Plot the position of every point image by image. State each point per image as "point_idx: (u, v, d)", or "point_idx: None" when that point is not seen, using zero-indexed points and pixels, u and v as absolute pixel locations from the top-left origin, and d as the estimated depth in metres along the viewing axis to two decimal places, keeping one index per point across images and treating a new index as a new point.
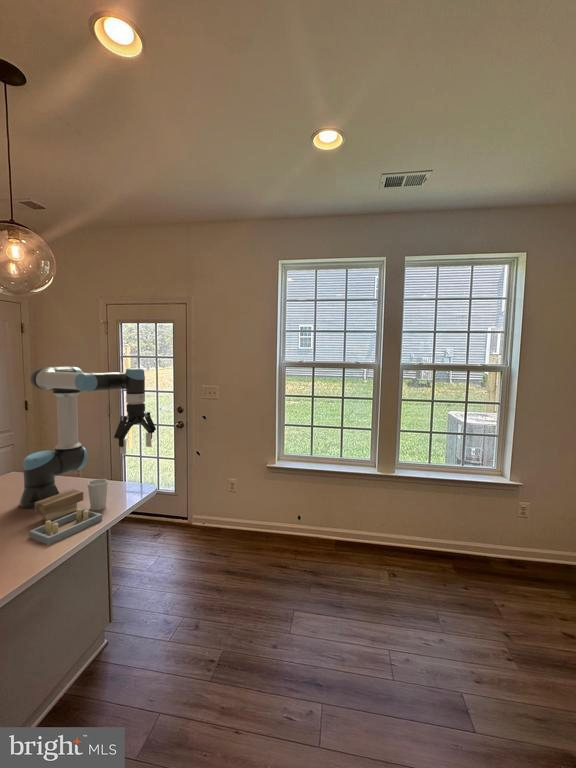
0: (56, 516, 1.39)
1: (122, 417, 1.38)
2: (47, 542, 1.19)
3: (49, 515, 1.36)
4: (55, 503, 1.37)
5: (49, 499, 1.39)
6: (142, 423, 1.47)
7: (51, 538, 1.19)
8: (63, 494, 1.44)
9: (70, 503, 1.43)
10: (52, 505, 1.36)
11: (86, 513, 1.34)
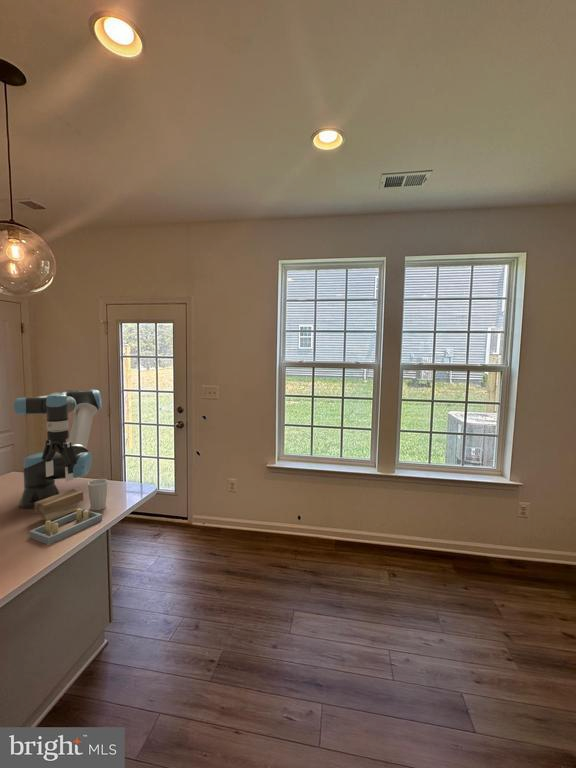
0: (56, 516, 1.39)
1: None
2: (47, 542, 1.19)
3: (49, 515, 1.36)
4: (55, 503, 1.37)
5: (49, 499, 1.39)
6: None
7: (51, 538, 1.19)
8: (63, 494, 1.44)
9: (70, 503, 1.43)
10: (52, 505, 1.36)
11: (86, 513, 1.34)
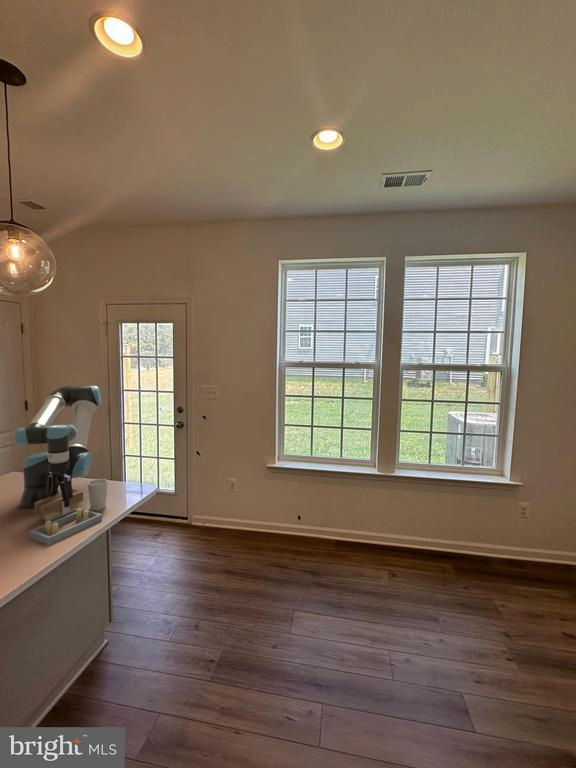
0: (56, 516, 1.39)
1: None
2: (47, 542, 1.19)
3: (49, 515, 1.36)
4: (55, 503, 1.37)
5: (49, 499, 1.39)
6: None
7: (51, 538, 1.19)
8: None
9: (70, 503, 1.43)
10: (52, 505, 1.36)
11: (86, 513, 1.34)
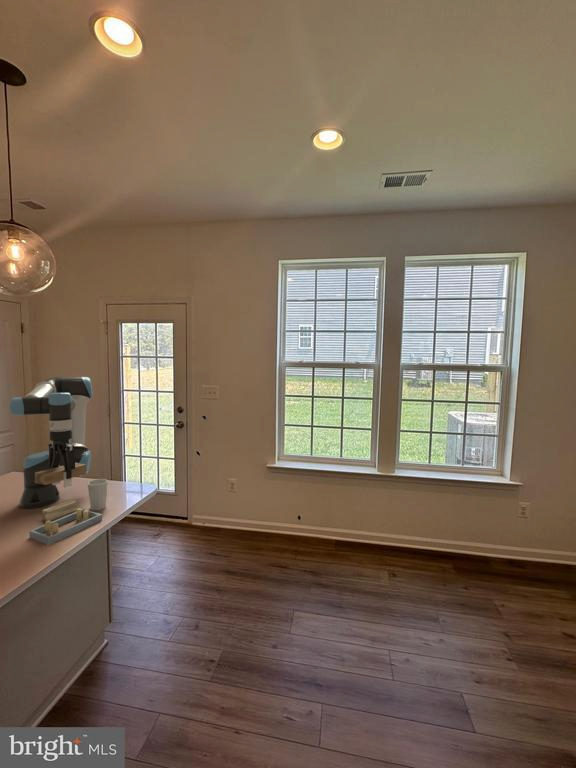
0: (56, 516, 1.39)
1: None
2: (47, 542, 1.19)
3: (49, 515, 1.36)
4: (56, 474, 1.29)
5: (50, 470, 1.31)
6: None
7: (51, 538, 1.19)
8: None
9: (72, 475, 1.34)
10: (53, 475, 1.28)
11: (86, 513, 1.34)
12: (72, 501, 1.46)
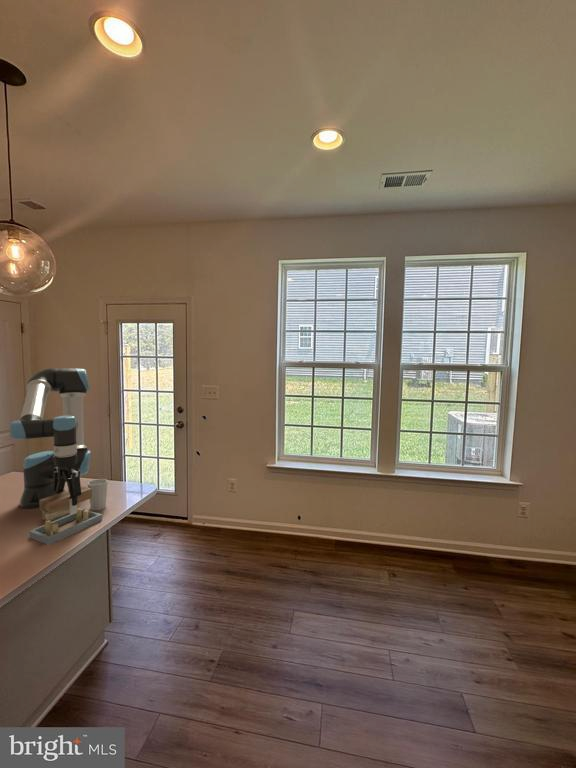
0: (56, 516, 1.39)
1: None
2: (47, 542, 1.19)
3: (49, 515, 1.36)
4: (62, 501, 1.25)
5: (55, 497, 1.27)
6: None
7: (51, 538, 1.19)
8: None
9: (78, 501, 1.30)
10: (58, 503, 1.24)
11: (86, 513, 1.34)
12: None
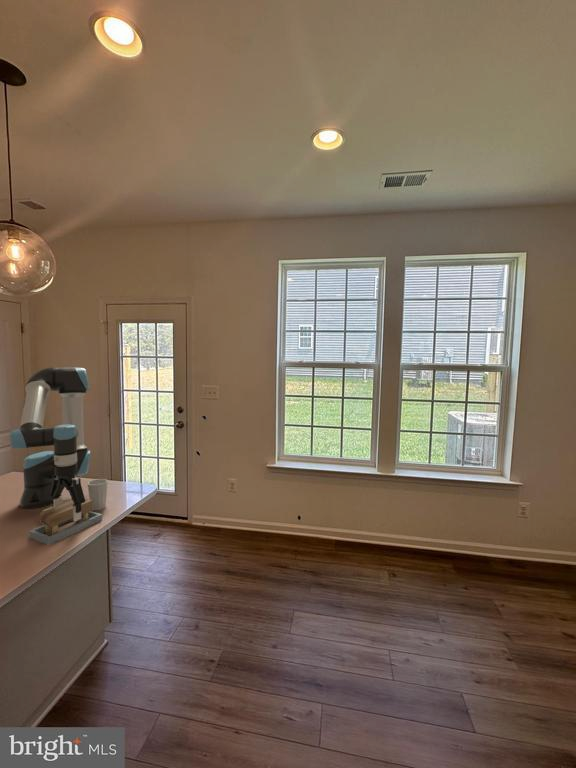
0: None
1: None
2: (47, 542, 1.19)
3: None
4: (62, 514, 1.25)
5: (56, 509, 1.27)
6: None
7: (51, 538, 1.19)
8: (70, 503, 1.32)
9: None
10: (59, 516, 1.24)
11: (86, 513, 1.34)
12: None
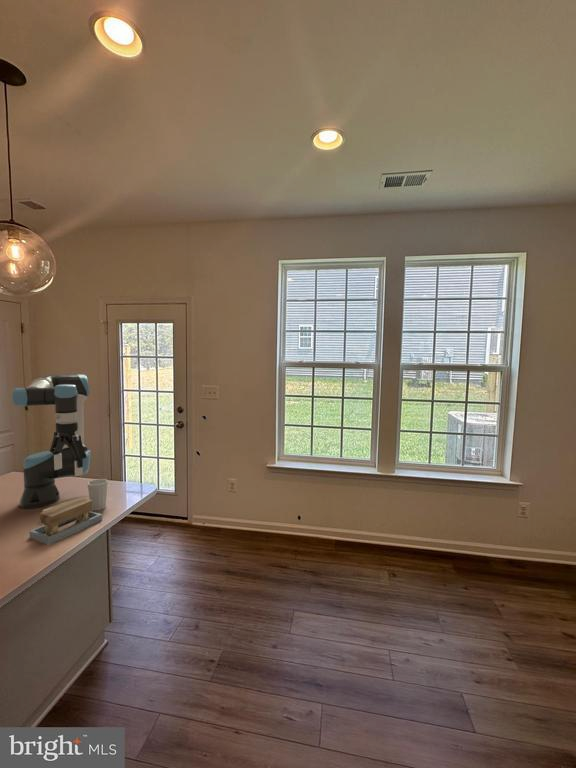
0: None
1: None
2: (47, 542, 1.19)
3: None
4: (62, 514, 1.25)
5: (56, 509, 1.27)
6: None
7: (51, 538, 1.19)
8: (70, 503, 1.32)
9: (78, 513, 1.31)
10: (59, 516, 1.24)
11: (86, 513, 1.34)
12: None
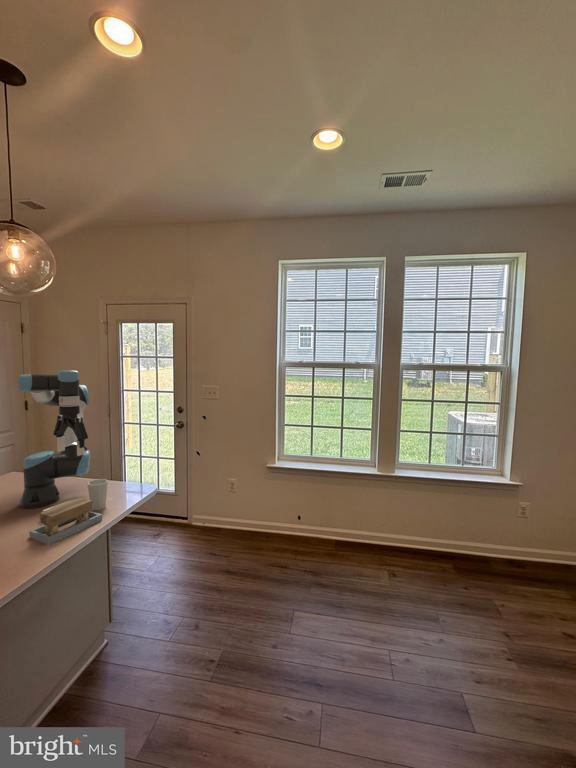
0: None
1: None
2: (47, 542, 1.19)
3: None
4: (62, 514, 1.25)
5: (56, 509, 1.27)
6: None
7: (51, 538, 1.19)
8: (70, 503, 1.32)
9: (78, 513, 1.31)
10: (59, 516, 1.24)
11: (86, 513, 1.34)
12: None
